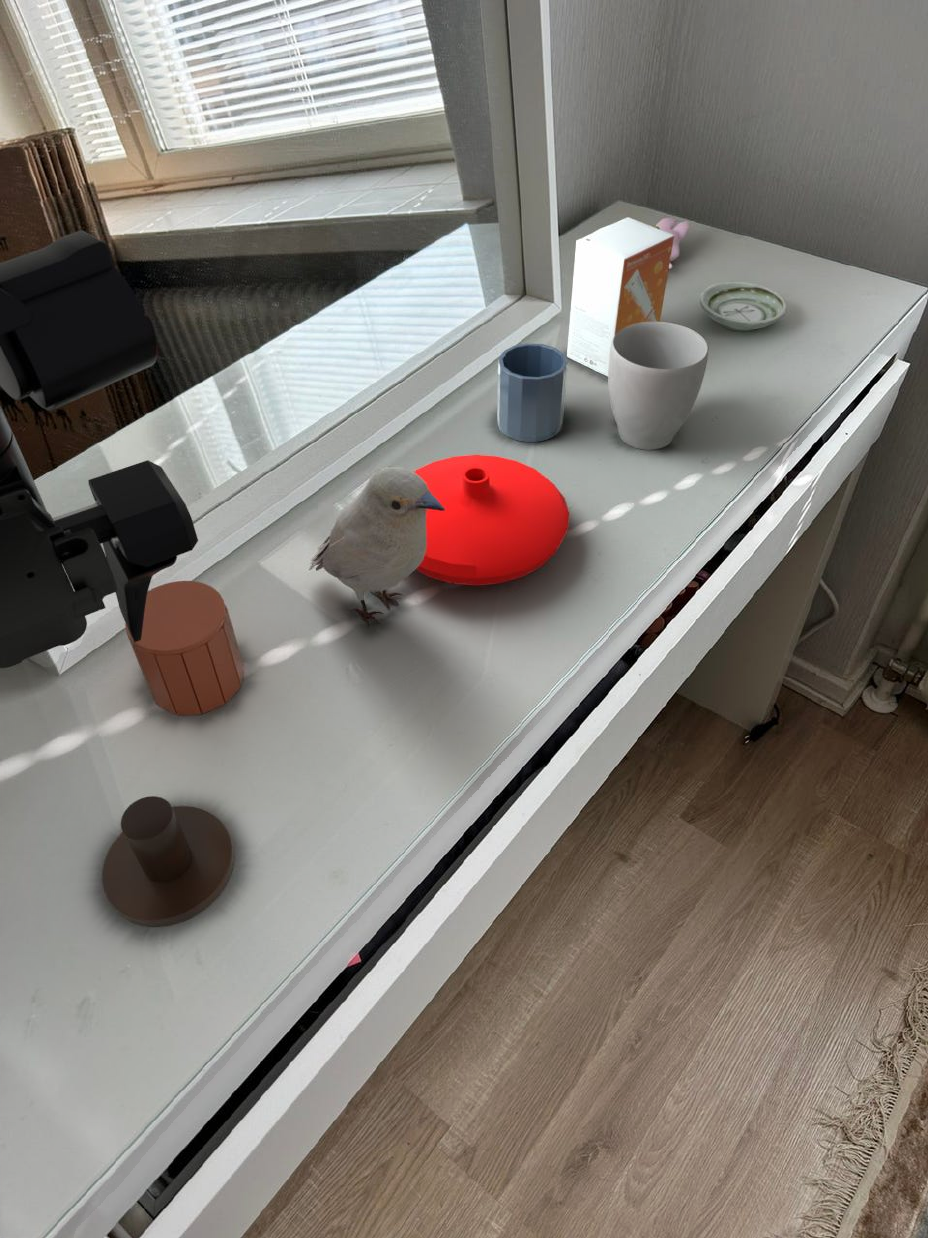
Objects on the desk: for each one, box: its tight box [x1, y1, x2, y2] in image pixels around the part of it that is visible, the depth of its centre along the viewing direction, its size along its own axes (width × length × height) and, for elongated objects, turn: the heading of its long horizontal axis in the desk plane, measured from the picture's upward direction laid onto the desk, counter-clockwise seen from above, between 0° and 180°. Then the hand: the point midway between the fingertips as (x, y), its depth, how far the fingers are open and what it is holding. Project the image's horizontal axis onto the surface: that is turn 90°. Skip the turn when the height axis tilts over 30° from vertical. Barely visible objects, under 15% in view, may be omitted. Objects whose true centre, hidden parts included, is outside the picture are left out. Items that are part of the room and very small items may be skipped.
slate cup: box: [496, 342, 569, 443], centre depth 89 cm, size 6×6×7 cm
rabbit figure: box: [654, 217, 691, 270], centre depth 113 cm, size 6×6×15 cm
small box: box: [566, 216, 674, 378], centre depth 96 cm, size 8×6×13 cm
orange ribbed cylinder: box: [124, 580, 245, 716], centre depth 66 cm, size 7×7×7 cm
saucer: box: [699, 281, 788, 332], centre depth 104 cm, size 10×10×2 cm
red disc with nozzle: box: [413, 454, 570, 586], centre depth 77 cm, size 16×16×7 cm
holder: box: [101, 795, 235, 927], centre depth 56 cm, size 8×8×6 cm
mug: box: [607, 321, 709, 451], centre depth 87 cm, size 12×9×10 cm
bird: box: [308, 466, 445, 630], centre depth 68 cm, size 5×14×15 cm, turn 56°
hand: (58, 668), depth 54 cm, fingers open, 9 cm apart
